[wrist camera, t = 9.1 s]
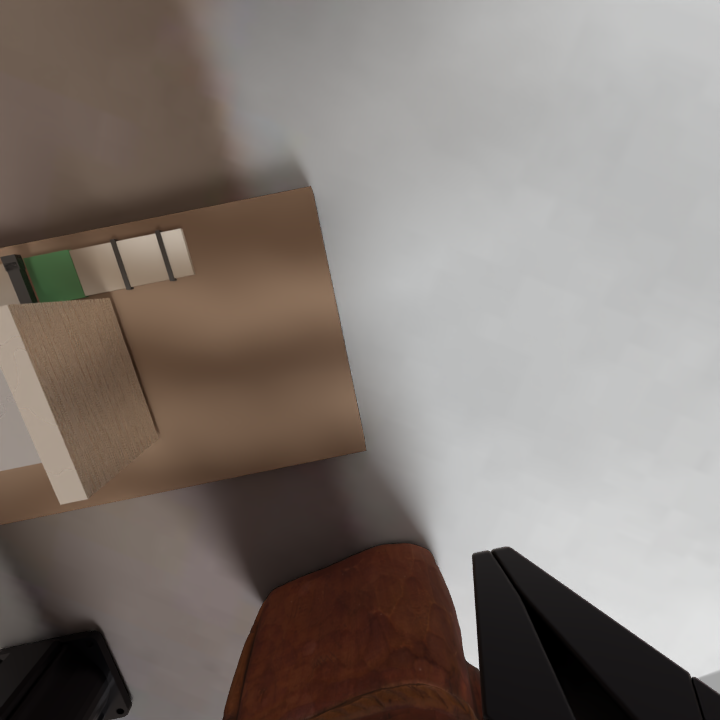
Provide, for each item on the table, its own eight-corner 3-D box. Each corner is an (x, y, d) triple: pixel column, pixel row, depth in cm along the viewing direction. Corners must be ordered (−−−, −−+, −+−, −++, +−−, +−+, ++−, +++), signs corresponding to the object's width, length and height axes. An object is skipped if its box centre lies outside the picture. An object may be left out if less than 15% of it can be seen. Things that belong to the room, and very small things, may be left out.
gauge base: (364, 438, 20) (374, 510, 14) (-55, 523, 20) (-242, 636, 14) (313, 194, 17) (296, 142, 11) (-176, 292, 17) (-484, 298, 11)
